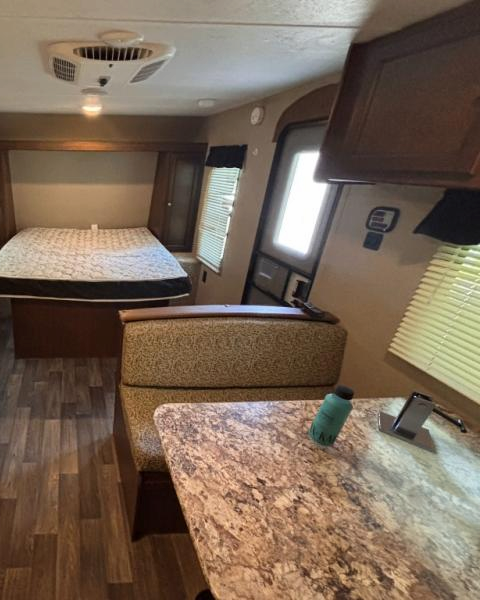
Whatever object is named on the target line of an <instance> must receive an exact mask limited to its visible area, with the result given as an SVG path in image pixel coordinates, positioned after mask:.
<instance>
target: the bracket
mask: <svg viewBox="0 0 480 600" xmlns="http://www.w3.org/2000/svg"><path fill="white" fill-rule="evenodd" d="M418 395H421V396H423V397H424V398H426V399H428V400H429V401H427V400H424V399H421V398H418V397H416V396H418ZM413 398H414V399H413ZM412 399H413V400H412ZM434 399H435V397H434V396H433V395H430V394H428V393H424V392H421V391H418V390H415V389H413V390H412V391H411V393H410V394H409V396H408V397H407V399H406V401H405V402H404V404H403V406H402V408H401V409H400V411H399V413H398V414H397V416H395V415H392V414H389V413H387V412H384V411H381V410H378V412H377V424H378V425H377V427H378V432H379V431H380V432H381V433H384V434H386V433H387V434H386V435H389V436H392V437H394V438H396V439H398V440H401V441H403V442H406V443H408V444H411V445H414V446H416V447H418V448H420V449H423V450H426V451H428V452H430V453H432V452H433V451H434V450H435V449H434V445H433V441H432V437H431V432H430V430H429V429H428V428H426V427H423V425H424V424H425V423H426V421H427V420H428V418H429V417H430V415H431V414H432V412H433V411H432V410H433V409H434V407H435V408H436V406H437V404H436V403H435V402H433V401H434Z"/></svg>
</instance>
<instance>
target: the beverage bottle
mask: <svg viewBox="0 0 480 600" xmlns="http://www.w3.org/2000/svg"><path fill="white" fill-rule="evenodd" d="M354 395H355V391H354V390H353V389H351V388H350V387H348V386H346V385H342V384H339V385H337V386H335V389H334V390H333V393H328V394H326V395H325V397H324V400H323V401H322V404H321V406H320V407H319V408H318V410H317V412H316V414H315V416H314V418H313V421H312V422H311V424H310V427H309V429H308V436H309V438H310V439H311V440H312V441H314V442H315V443H316V444H318V445H321V446H324V447H332V446H333V445H334V444H335V443H336V441H337V440H338V438H339V436H340V435H341V432H342V430H343V427H344V426H345V424H346V422H347V419H348V418H349V416H350V414H351V412H352V411H353V410H354V405H353V403H352V402H351V401H352V400H353V398H354Z"/></svg>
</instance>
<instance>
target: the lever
mask: <svg viewBox="0 0 480 600" xmlns="http://www.w3.org/2000/svg"><path fill="white" fill-rule="evenodd" d="M416 397H418V398H421V399H424V400H427V401H429V400H428V399H426V398H424V397H423V396H421V395H418V396H416ZM413 399H414V398H413ZM413 399H412V400H413ZM432 412H433V413H435V414H437V416H440V417H441V418H443V419H445V420H446V421H448V422H449V423H451V424H453V425H455V427H458V428H459V430H460V432H461V433H462V434H467V433H468V430H467V427H466V425H465V422H464V420H462V419H455V418H454V417H452V416H450V415H448V414H447V413H445V412H444V411H442V410H440V409H439V408H437V407H436V406H435V407H434V409H433V410H432Z"/></svg>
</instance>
